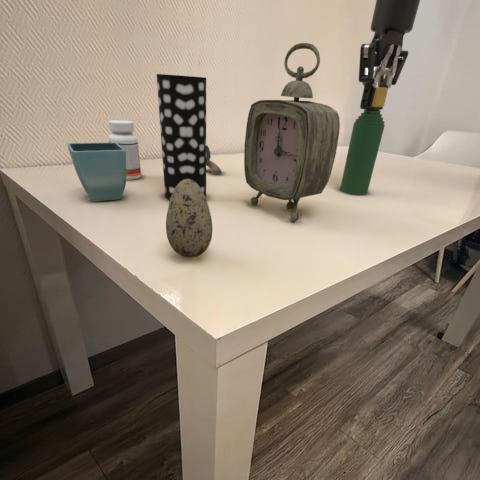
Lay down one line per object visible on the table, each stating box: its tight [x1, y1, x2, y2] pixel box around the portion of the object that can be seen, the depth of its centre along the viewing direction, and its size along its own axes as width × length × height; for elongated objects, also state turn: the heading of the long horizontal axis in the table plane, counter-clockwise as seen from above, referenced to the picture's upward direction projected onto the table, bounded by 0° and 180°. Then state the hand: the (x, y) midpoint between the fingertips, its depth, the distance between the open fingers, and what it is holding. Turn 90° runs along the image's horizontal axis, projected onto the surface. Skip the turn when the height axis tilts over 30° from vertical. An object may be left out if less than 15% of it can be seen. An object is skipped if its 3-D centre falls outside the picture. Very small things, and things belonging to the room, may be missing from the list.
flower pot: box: [66, 142, 127, 202], centre depth 62 cm, size 9×9×9 cm
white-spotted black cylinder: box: [156, 73, 207, 201], centre depth 62 cm, size 8×8×20 cm
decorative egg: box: [165, 179, 213, 259], centre depth 42 cm, size 6×6×10 cm
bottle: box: [339, 107, 386, 196], centre depth 74 cm, size 6×6×20 cm
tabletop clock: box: [243, 42, 341, 223], centre depth 57 cm, size 14×9×25 cm, turn 40°
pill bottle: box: [108, 119, 142, 181], centre depth 75 cm, size 6×6×11 cm
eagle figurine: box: [206, 144, 223, 176], centre depth 86 cm, size 8×7×9 cm
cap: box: [371, 86, 389, 108], centre depth 68 cm, size 4×4×3 cm
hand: (371, 108), depth 70 cm, fingers closed on cap, 4 cm apart
